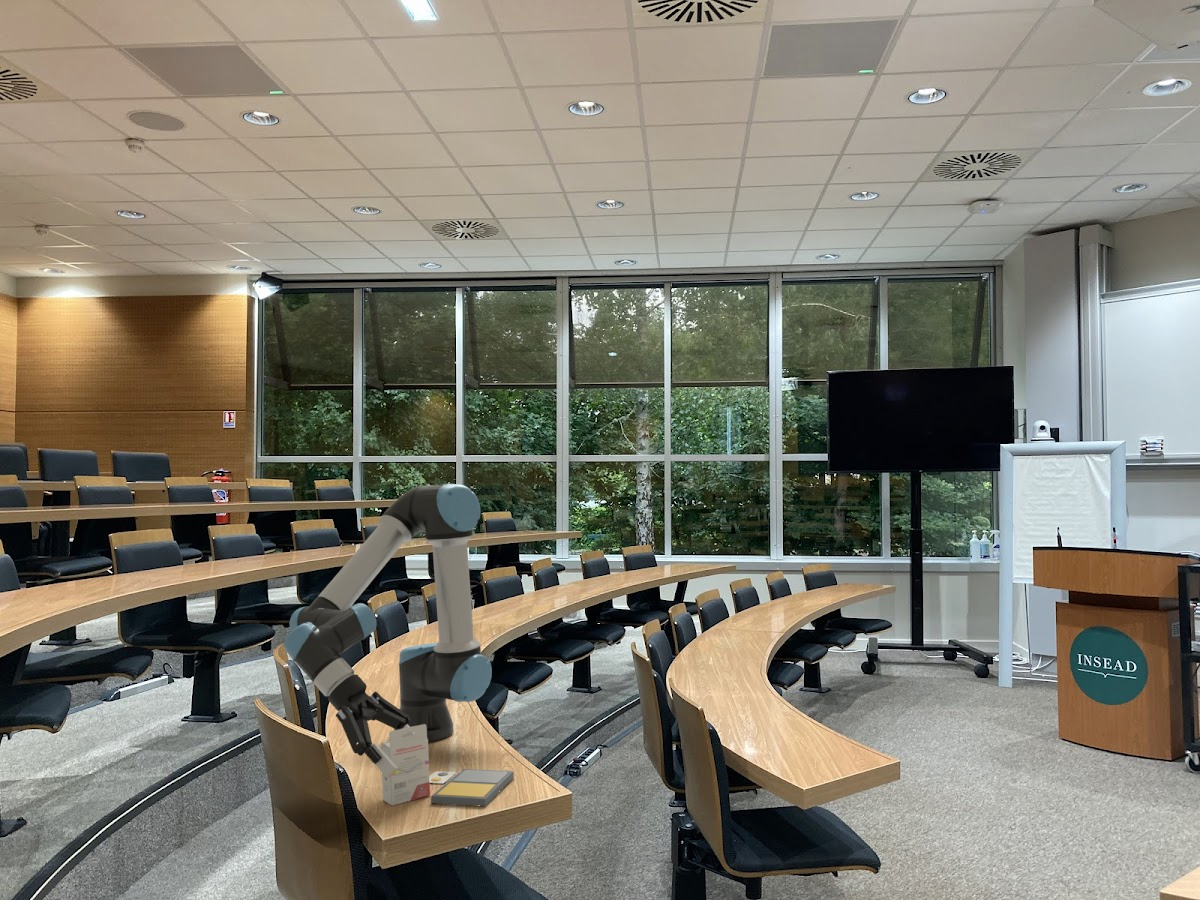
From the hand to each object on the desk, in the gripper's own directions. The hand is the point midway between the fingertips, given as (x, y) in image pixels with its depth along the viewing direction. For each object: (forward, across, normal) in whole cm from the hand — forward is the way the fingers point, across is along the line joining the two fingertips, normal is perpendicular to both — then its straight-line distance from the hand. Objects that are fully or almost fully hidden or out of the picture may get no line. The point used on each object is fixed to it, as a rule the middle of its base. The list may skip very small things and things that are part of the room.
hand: (408, 761), depth 171 cm
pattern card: (+6, -12, -4) cm, 15 cm away
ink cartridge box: (+5, 0, -6) cm, 8 cm away
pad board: (+13, -7, +3) cm, 15 cm away
